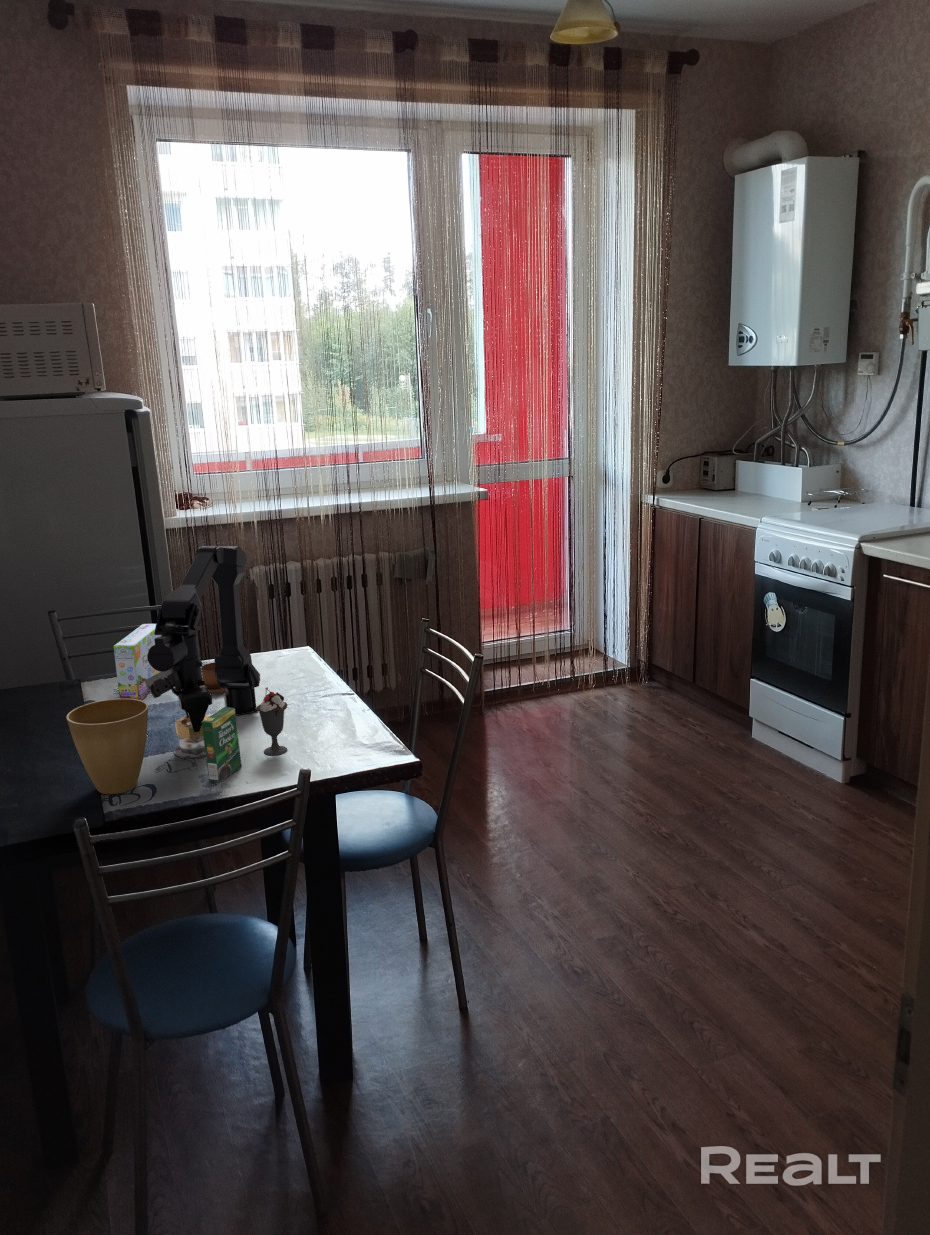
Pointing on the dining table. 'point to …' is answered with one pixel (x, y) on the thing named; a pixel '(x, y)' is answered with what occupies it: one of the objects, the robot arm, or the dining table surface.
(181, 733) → the ring
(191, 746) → the silver flanged knob
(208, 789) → the dining table surface
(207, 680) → the cup and saucer
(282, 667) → the dining table surface
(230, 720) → the coffee box
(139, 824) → the dining table surface
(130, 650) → the snack box
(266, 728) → the sundae
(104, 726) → the plant pot
